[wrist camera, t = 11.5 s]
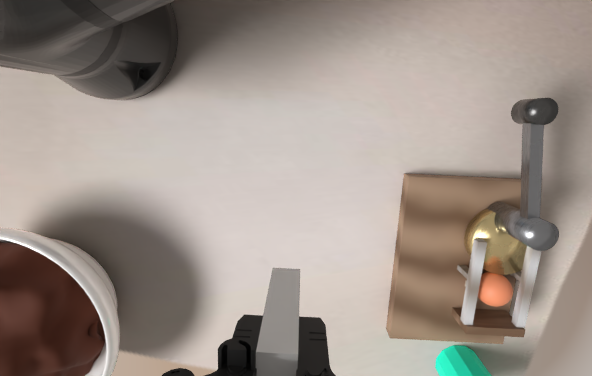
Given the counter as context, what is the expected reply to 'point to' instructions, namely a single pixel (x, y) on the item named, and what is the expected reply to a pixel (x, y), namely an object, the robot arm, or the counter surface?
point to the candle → (460, 362)
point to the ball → (494, 289)
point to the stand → (451, 263)
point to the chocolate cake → (54, 309)
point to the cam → (525, 221)
